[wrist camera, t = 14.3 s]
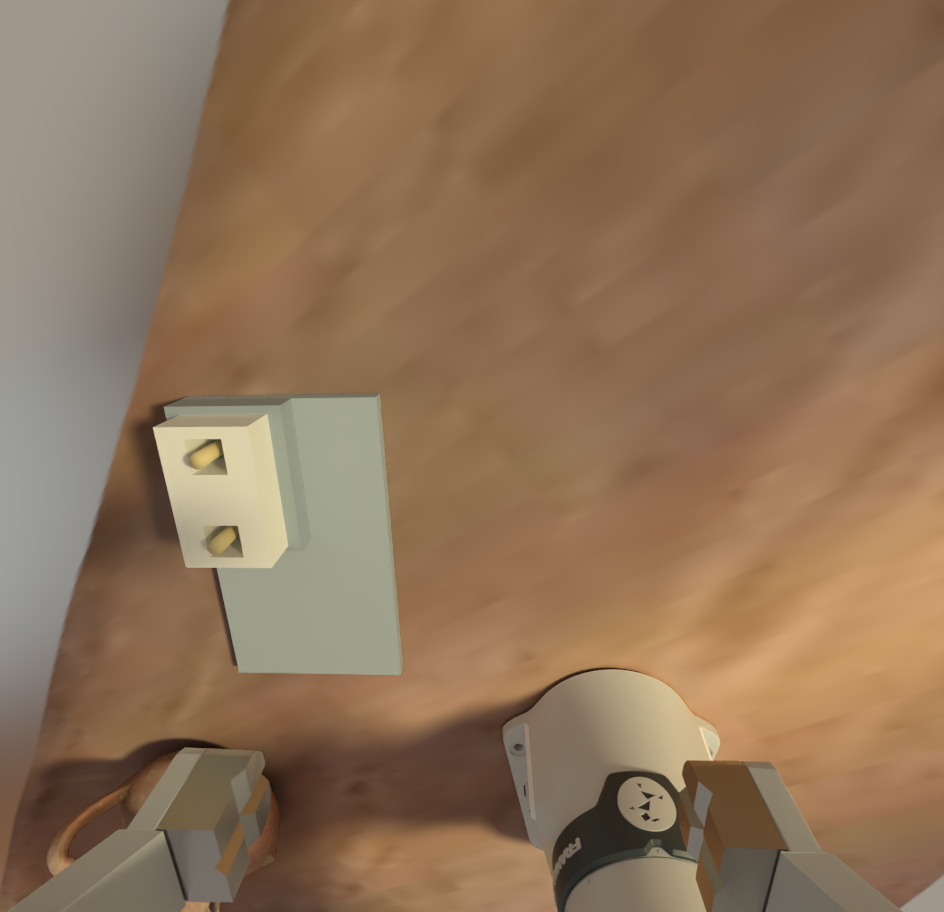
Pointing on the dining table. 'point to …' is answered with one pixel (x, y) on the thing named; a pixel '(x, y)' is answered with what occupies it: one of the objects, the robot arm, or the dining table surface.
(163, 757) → the ceramic jug
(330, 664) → the grey-green stepped plate
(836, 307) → the dining table surface
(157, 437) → the two-hole cream block
